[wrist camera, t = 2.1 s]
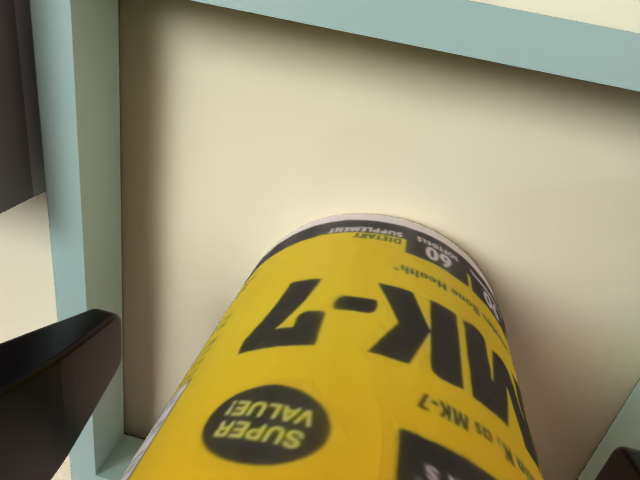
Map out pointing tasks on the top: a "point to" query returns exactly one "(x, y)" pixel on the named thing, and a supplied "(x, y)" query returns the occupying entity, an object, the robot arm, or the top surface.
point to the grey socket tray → (19, 108)
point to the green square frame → (285, 3)
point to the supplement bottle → (351, 369)
